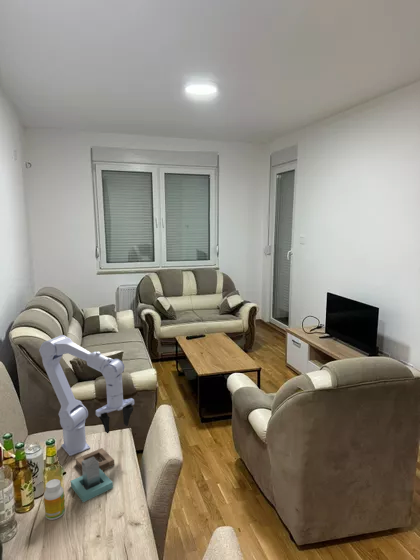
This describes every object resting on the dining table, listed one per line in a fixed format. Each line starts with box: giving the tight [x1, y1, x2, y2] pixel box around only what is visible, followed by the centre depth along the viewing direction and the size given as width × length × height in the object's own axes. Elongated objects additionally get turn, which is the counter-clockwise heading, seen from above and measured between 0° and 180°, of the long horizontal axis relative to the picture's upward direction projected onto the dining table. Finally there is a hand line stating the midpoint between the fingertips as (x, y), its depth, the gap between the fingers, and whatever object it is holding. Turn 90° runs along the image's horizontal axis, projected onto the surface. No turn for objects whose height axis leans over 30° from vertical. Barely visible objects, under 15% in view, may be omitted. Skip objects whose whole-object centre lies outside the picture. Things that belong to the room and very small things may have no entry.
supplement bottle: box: [43, 478, 66, 521], centre depth 111 cm, size 5×5×10 cm
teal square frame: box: [70, 468, 114, 503], centre depth 123 cm, size 10×10×2 cm
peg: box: [81, 456, 101, 490], centre depth 123 cm, size 4×4×9 cm
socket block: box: [75, 448, 115, 471], centre depth 135 cm, size 10×10×2 cm
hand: (116, 428), depth 140 cm, fingers open, 7 cm apart
